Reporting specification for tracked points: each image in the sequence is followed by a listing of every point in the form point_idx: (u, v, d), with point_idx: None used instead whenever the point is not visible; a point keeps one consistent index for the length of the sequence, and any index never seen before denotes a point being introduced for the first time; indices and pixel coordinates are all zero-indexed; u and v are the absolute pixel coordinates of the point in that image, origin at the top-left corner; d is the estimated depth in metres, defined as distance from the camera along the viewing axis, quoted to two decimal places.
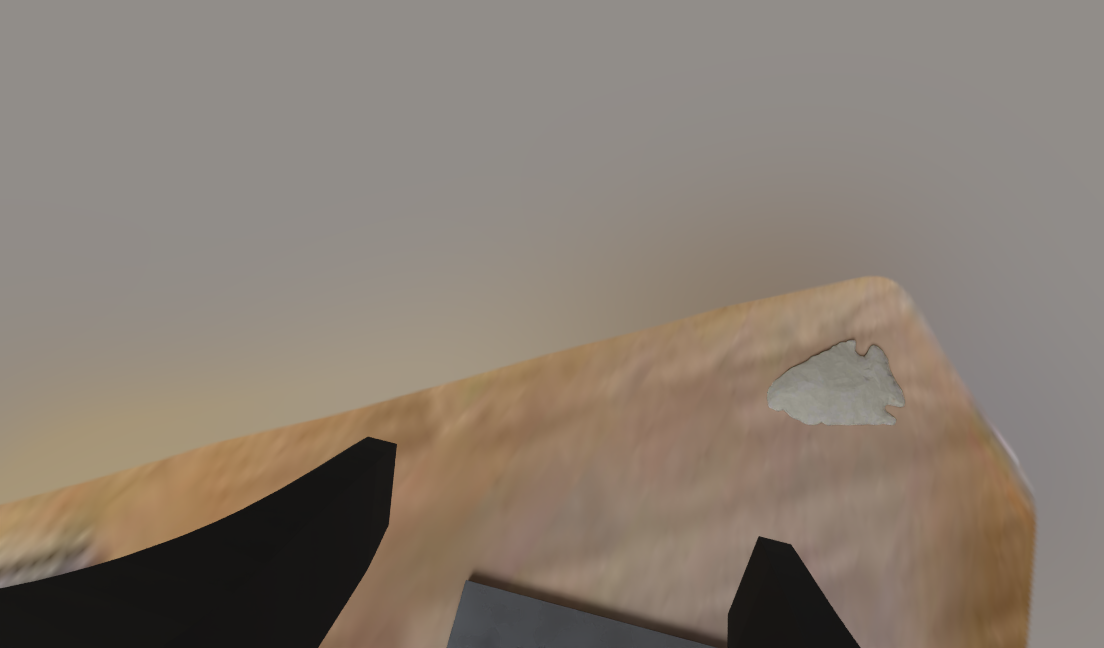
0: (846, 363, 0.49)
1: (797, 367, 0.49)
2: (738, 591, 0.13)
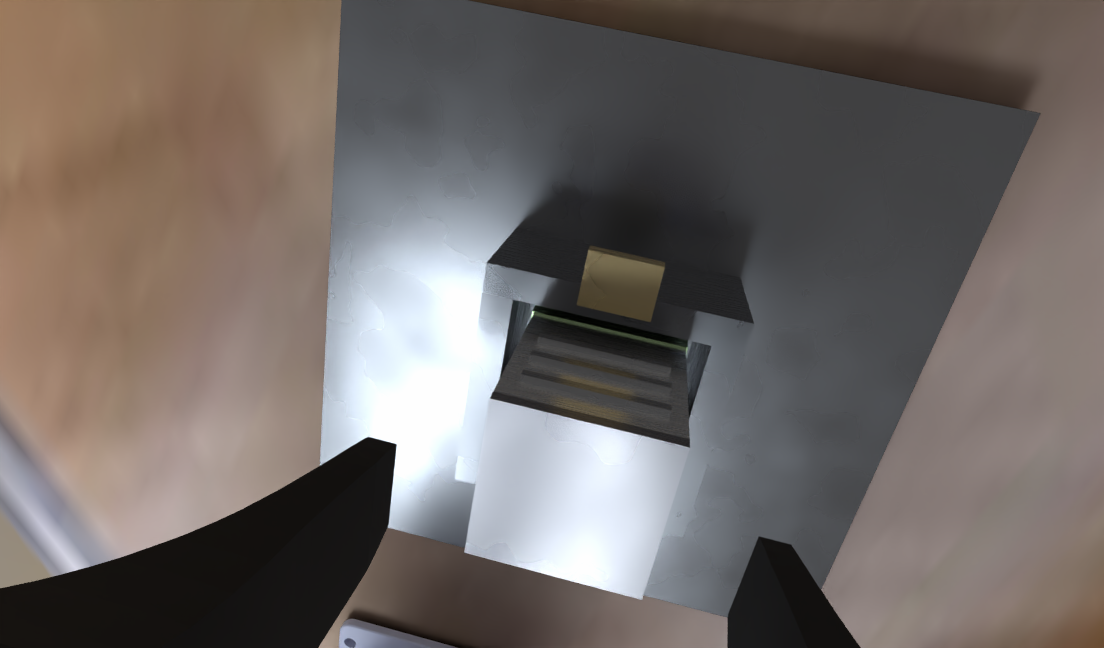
0: None
1: None
2: (737, 591, 0.13)
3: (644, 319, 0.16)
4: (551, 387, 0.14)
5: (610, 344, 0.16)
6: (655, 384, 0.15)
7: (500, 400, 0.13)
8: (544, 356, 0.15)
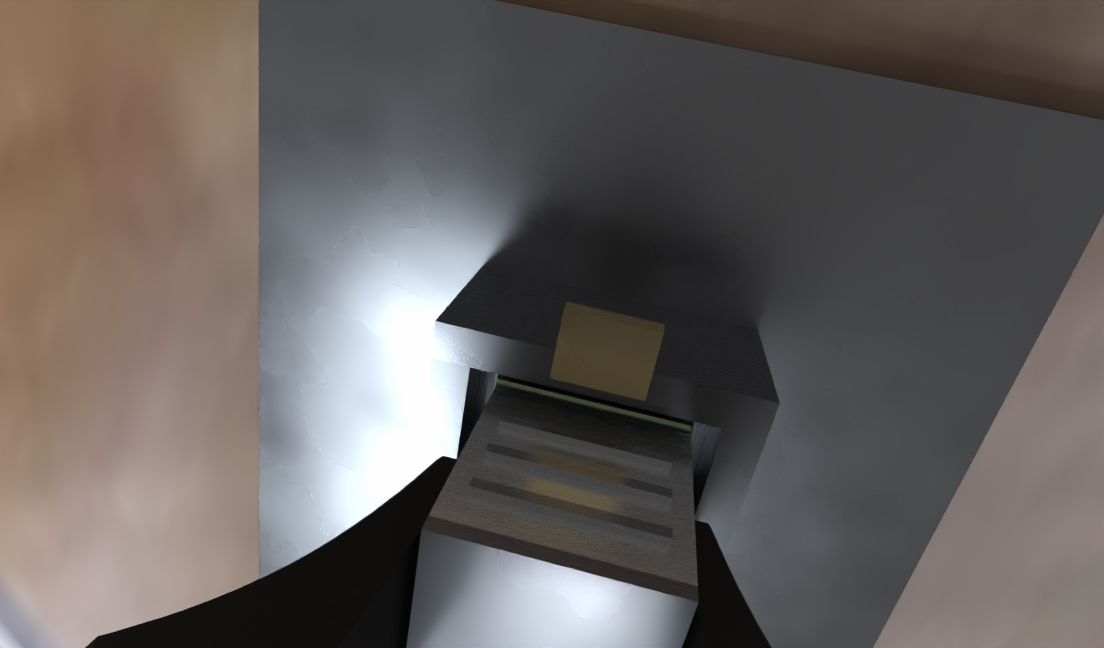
0: None
1: None
2: None
3: (637, 397, 0.12)
4: (510, 502, 0.10)
5: (594, 425, 0.13)
6: (651, 492, 0.11)
7: (436, 532, 0.10)
8: (504, 453, 0.11)
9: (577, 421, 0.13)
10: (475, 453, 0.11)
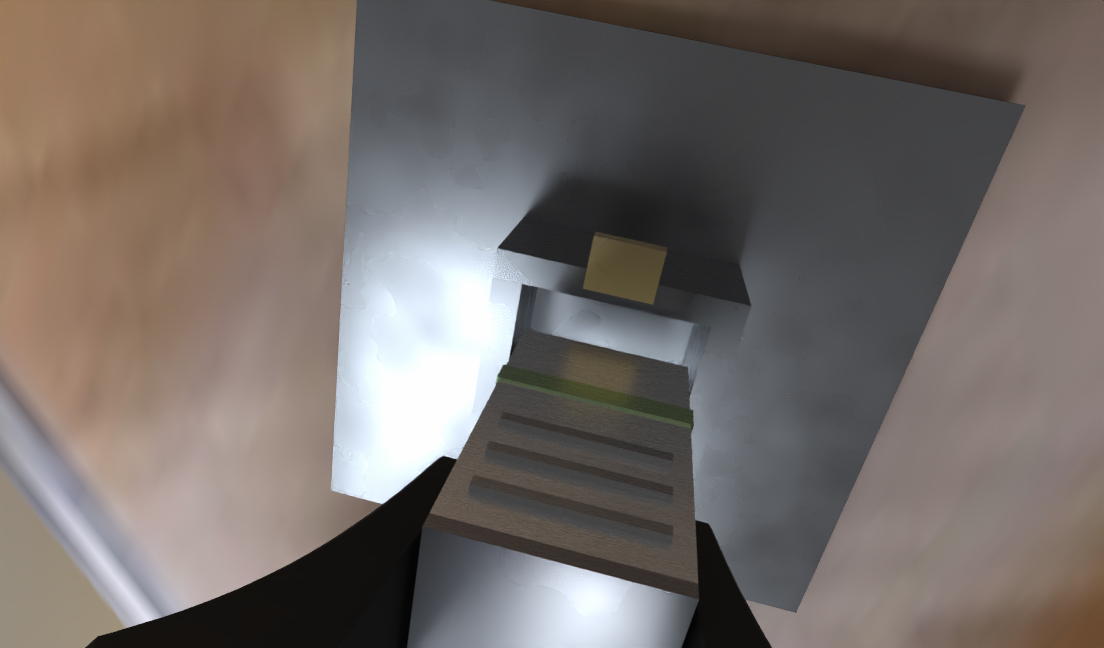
0: None
1: None
2: None
3: (647, 302, 0.17)
4: (511, 499, 0.10)
5: (594, 424, 0.13)
6: (651, 490, 0.11)
7: (437, 529, 0.10)
8: (505, 451, 0.11)
9: (578, 419, 0.13)
10: (476, 451, 0.11)
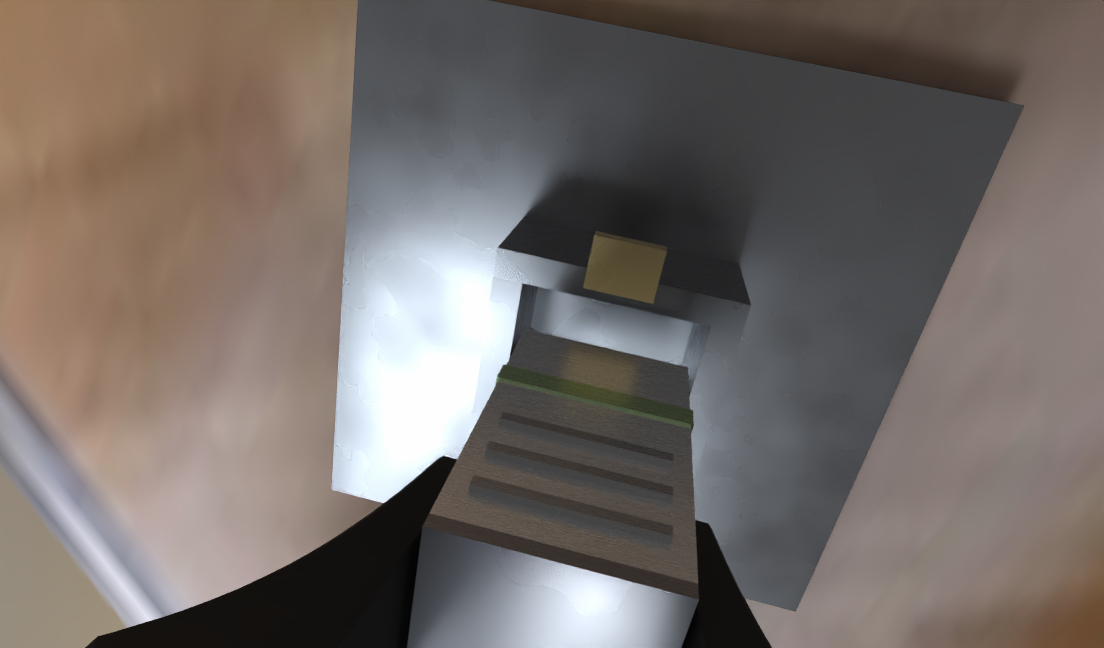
0: None
1: None
2: None
3: (647, 301, 0.17)
4: (511, 499, 0.10)
5: (594, 424, 0.13)
6: (651, 490, 0.11)
7: (437, 529, 0.10)
8: (505, 451, 0.11)
9: (577, 419, 0.13)
10: (476, 451, 0.11)
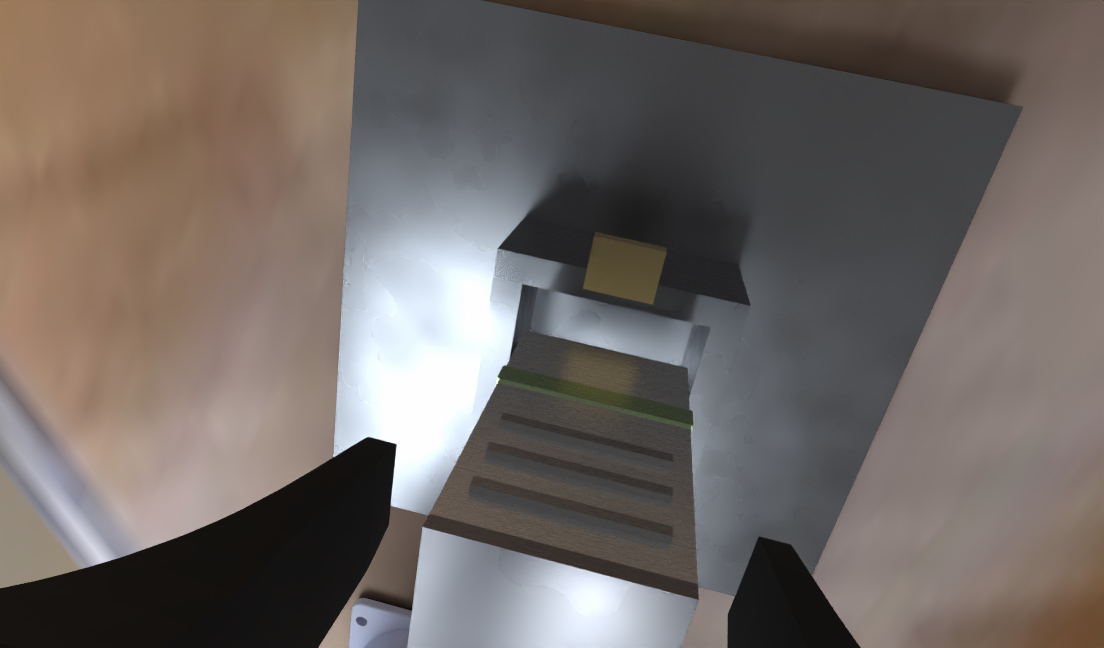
0: None
1: None
2: (737, 591, 0.13)
3: (647, 302, 0.17)
4: (511, 500, 0.11)
5: (594, 424, 0.13)
6: (651, 491, 0.11)
7: (437, 530, 0.10)
8: (505, 452, 0.11)
9: (577, 420, 0.13)
10: (476, 452, 0.11)
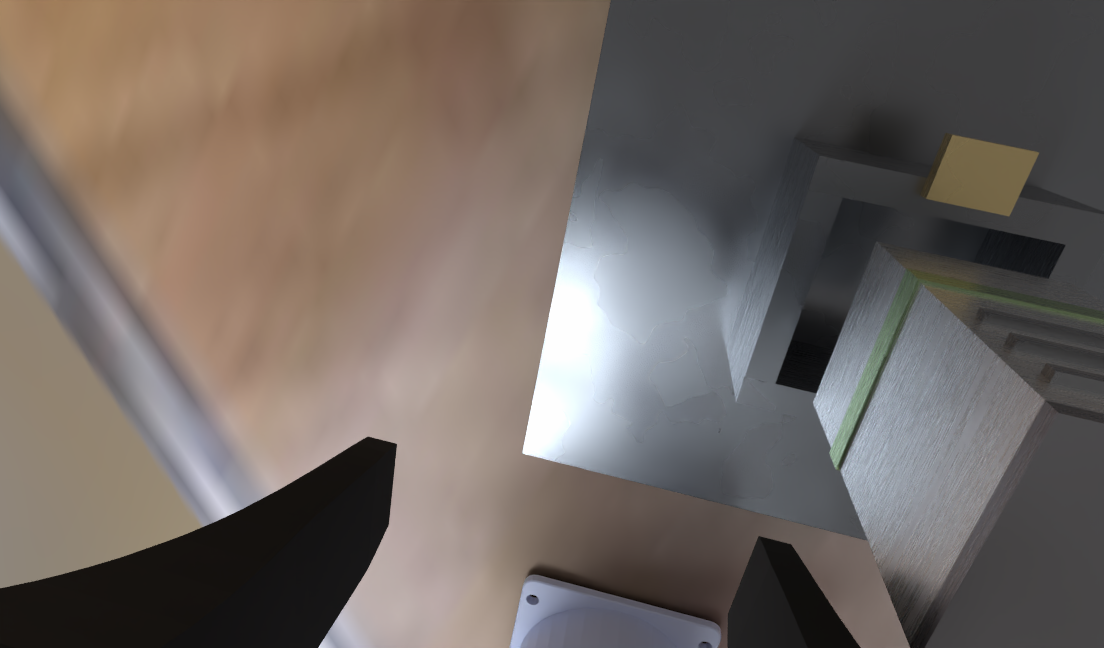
0: None
1: None
2: (737, 591, 0.13)
3: (1003, 213, 0.15)
4: (1098, 392, 0.08)
5: (1068, 326, 0.11)
6: None
7: (1077, 417, 0.07)
8: (1039, 343, 0.09)
9: (1047, 321, 0.11)
10: (998, 344, 0.09)
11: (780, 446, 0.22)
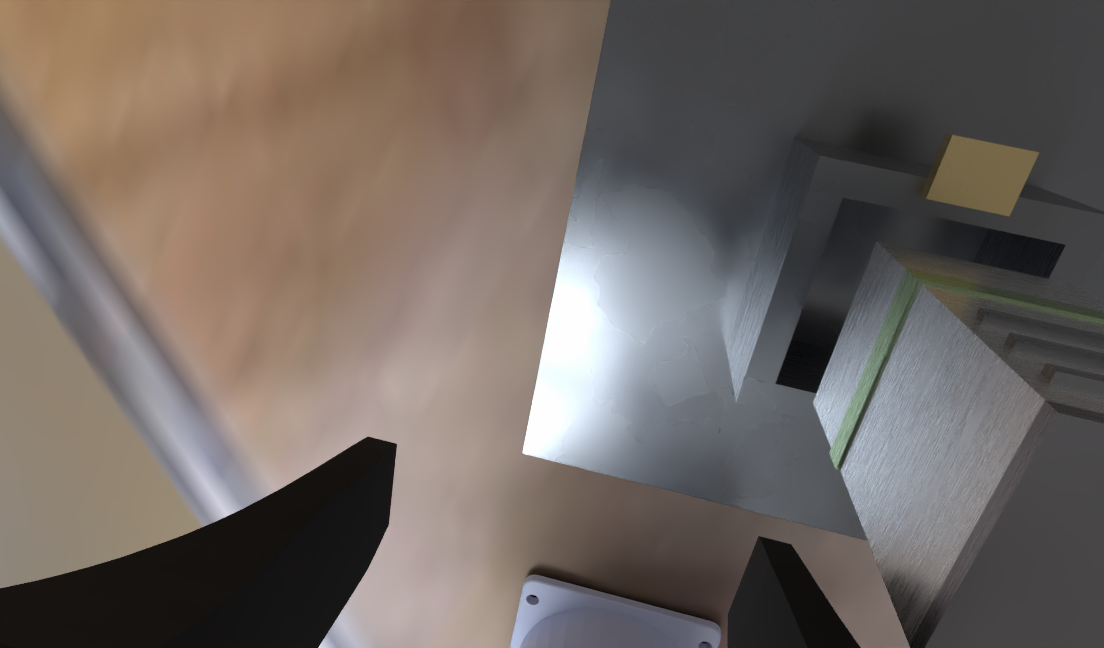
0: None
1: None
2: (737, 591, 0.13)
3: (1003, 213, 0.15)
4: (1098, 392, 0.08)
5: (1068, 326, 0.11)
6: None
7: (1077, 417, 0.07)
8: (1039, 343, 0.09)
9: (1047, 321, 0.11)
10: (998, 344, 0.09)
11: (780, 446, 0.22)
